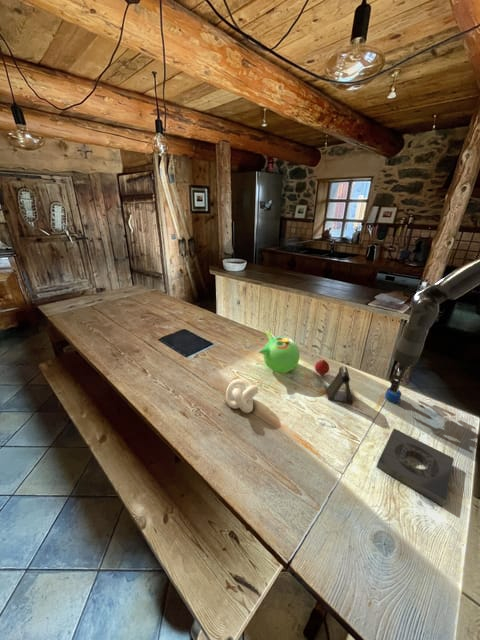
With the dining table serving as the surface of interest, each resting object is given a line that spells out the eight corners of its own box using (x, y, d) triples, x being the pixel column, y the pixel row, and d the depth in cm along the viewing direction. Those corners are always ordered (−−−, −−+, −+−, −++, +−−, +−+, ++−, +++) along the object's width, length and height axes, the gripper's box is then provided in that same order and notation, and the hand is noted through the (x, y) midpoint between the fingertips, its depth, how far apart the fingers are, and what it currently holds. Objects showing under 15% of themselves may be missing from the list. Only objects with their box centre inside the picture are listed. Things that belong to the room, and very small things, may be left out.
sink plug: (393, 394, 105) (399, 376, 102) (401, 402, 101) (408, 384, 97) (382, 394, 105) (388, 377, 101) (389, 403, 100) (396, 385, 97)
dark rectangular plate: (391, 433, 88) (393, 428, 87) (450, 463, 78) (453, 458, 77) (376, 466, 77) (378, 460, 76) (442, 506, 67) (445, 500, 66)
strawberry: (311, 371, 118) (314, 355, 114) (323, 369, 119) (326, 354, 115) (317, 379, 113) (320, 363, 109) (330, 377, 114) (333, 362, 110)
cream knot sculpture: (218, 409, 96) (218, 390, 92) (234, 390, 106) (234, 371, 102) (247, 420, 92) (248, 401, 88) (260, 399, 101) (261, 380, 97)
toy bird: (296, 382, 111) (300, 352, 104) (256, 375, 114) (258, 346, 108) (299, 359, 126) (302, 331, 120) (264, 353, 130) (265, 326, 124)
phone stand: (350, 393, 105) (356, 368, 100) (352, 403, 100) (359, 377, 95) (326, 389, 107) (331, 364, 102) (327, 399, 102) (333, 374, 97)
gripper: (416, 361, 86) (402, 400, 93) (425, 345, 96) (411, 381, 103) (391, 353, 90) (379, 390, 97) (402, 338, 100) (390, 373, 107)
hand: (395, 385), depth 100 cm, fingers open, 8 cm apart
